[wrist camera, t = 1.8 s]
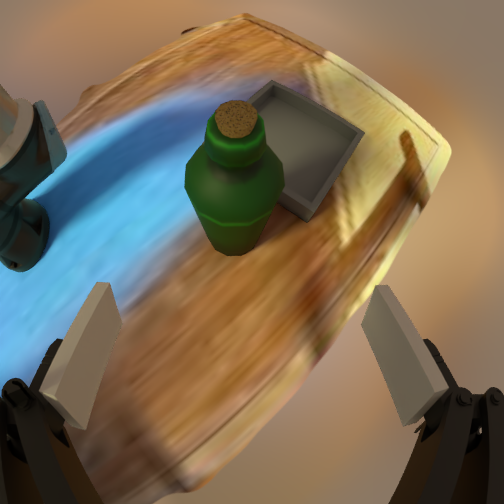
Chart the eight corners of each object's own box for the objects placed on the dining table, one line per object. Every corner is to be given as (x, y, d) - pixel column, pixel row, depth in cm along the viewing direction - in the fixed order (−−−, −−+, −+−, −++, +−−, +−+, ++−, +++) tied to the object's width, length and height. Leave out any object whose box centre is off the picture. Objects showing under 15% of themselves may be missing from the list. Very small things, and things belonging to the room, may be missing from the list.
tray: (204, 157, 50) (202, 143, 45) (269, 94, 55) (271, 79, 51) (307, 222, 48) (314, 212, 43) (357, 145, 53) (364, 132, 49)
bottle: (254, 196, 48) (276, 67, 21) (274, 253, 46) (328, 155, 19) (194, 212, 47) (159, 88, 20) (211, 271, 44) (179, 190, 17)
